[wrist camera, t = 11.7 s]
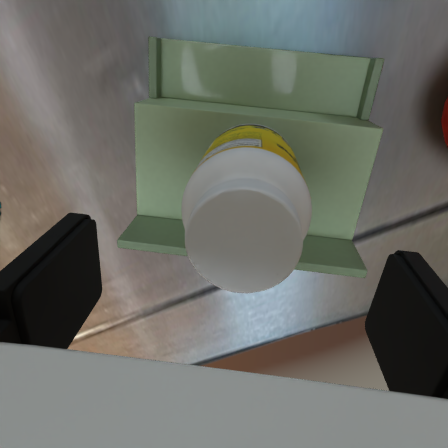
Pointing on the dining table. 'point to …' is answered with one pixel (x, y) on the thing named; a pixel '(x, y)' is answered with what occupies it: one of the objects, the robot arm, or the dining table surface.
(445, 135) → the apple
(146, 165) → the green flanged tray
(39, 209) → the dining table surface
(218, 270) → the pill bottle
